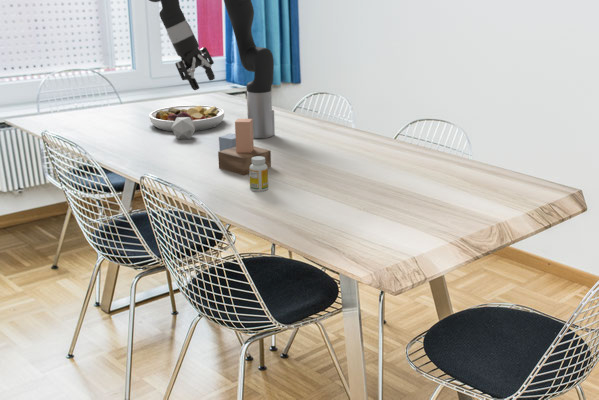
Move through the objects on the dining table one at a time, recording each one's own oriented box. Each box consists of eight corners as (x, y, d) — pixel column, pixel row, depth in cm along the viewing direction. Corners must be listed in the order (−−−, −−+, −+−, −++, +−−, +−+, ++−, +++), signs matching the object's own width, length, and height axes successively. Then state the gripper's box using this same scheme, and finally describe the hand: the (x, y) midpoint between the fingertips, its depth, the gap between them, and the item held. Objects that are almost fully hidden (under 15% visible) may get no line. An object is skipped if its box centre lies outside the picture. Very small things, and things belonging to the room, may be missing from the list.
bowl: (153, 117, 303) (152, 99, 300) (224, 115, 306) (223, 97, 303) (147, 135, 275) (145, 115, 272) (225, 132, 278) (224, 112, 275)
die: (185, 143, 264) (198, 121, 264) (165, 132, 264) (178, 109, 264) (188, 146, 272) (201, 124, 272) (169, 134, 272) (181, 112, 272)
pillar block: (239, 148, 233) (237, 118, 229) (253, 148, 232) (252, 118, 229) (236, 152, 228) (234, 121, 225) (251, 152, 228) (249, 122, 224)
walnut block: (245, 161, 240) (245, 144, 238) (271, 168, 232) (270, 150, 230) (219, 169, 232) (218, 151, 230) (244, 176, 224) (243, 158, 222)
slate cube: (231, 149, 253) (230, 133, 251) (244, 152, 250) (243, 135, 248) (219, 153, 249) (218, 136, 247) (232, 156, 245) (231, 139, 243)
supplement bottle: (251, 192, 208) (250, 161, 205) (249, 186, 213) (247, 156, 210) (269, 191, 209) (268, 159, 206) (266, 185, 214) (266, 154, 211)
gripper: (176, 42, 219) (199, 90, 224) (203, 27, 229) (225, 73, 234) (160, 48, 223) (183, 95, 229) (188, 33, 234) (209, 79, 239)
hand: (204, 84), depth 231 cm, fingers open, 8 cm apart
